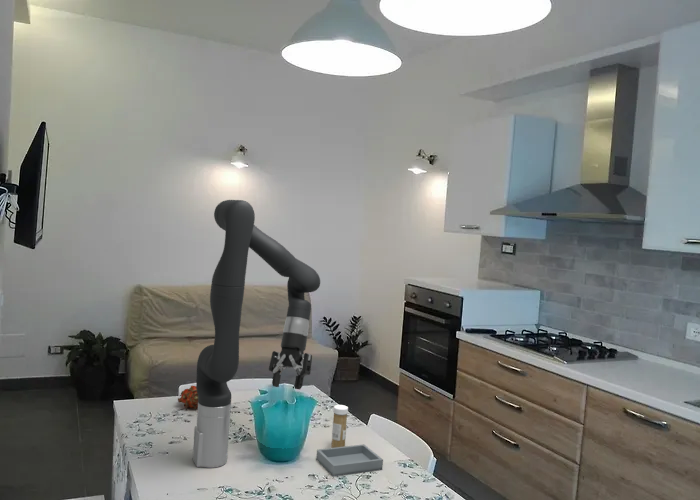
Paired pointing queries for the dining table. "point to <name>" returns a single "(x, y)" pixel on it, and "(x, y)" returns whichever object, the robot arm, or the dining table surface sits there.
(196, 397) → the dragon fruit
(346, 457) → the box
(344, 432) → the sprinkles bottle
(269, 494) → the dining table surface
